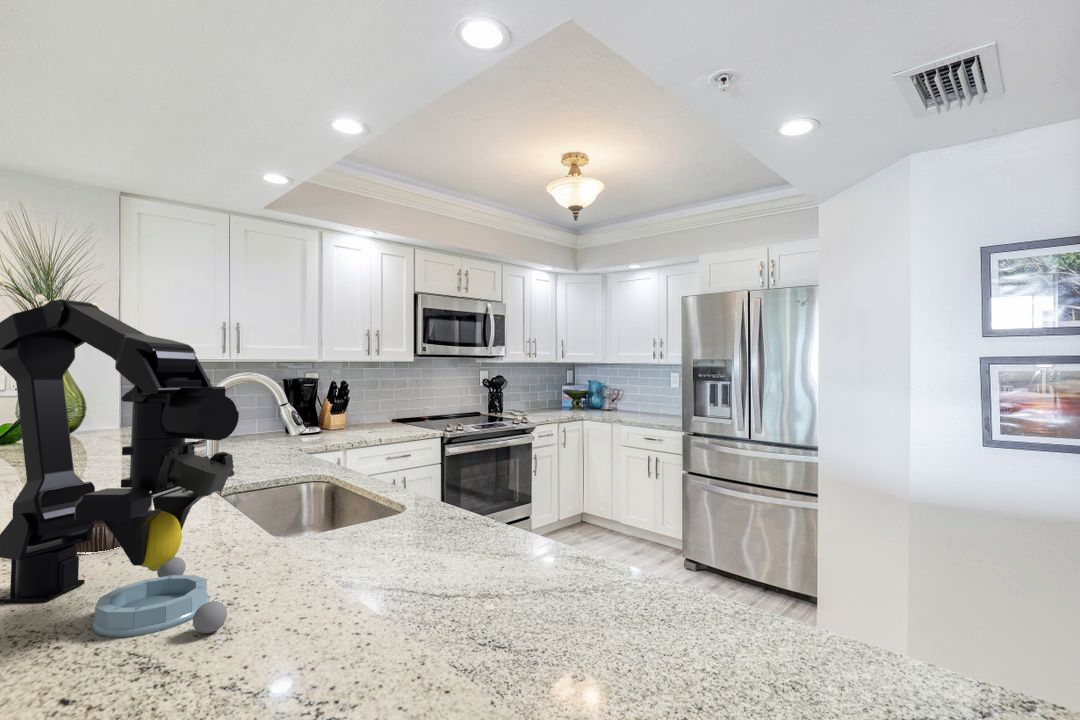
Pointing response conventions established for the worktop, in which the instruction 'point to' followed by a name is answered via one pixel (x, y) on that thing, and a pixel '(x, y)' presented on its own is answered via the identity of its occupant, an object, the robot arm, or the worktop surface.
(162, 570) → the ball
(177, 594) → the dish
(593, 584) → the worktop surface
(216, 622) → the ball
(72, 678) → the worktop surface
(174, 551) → the lemon
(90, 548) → the cupcake
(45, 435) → the robot arm
